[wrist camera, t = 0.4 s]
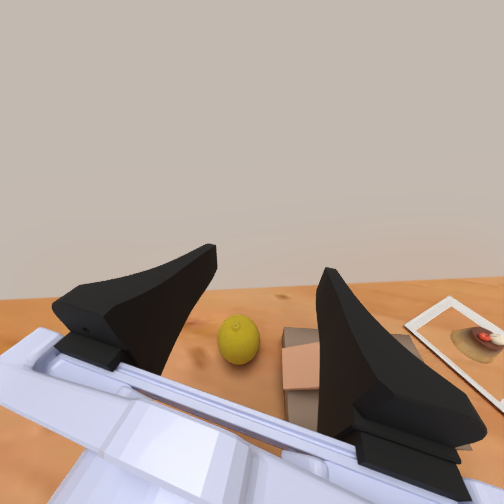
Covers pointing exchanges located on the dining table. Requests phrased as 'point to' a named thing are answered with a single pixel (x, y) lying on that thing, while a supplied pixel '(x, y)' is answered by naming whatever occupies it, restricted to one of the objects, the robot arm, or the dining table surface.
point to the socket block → (306, 401)
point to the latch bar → (301, 367)
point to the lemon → (238, 339)
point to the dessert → (465, 339)
